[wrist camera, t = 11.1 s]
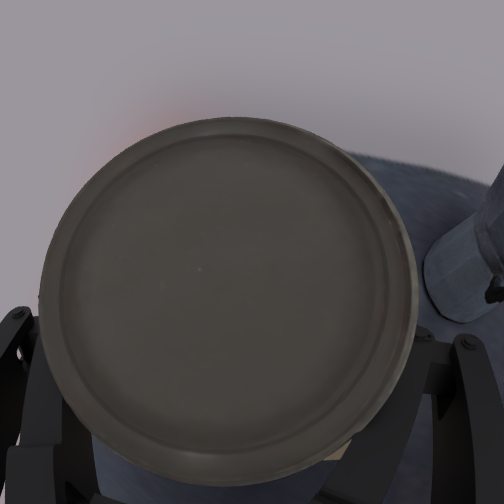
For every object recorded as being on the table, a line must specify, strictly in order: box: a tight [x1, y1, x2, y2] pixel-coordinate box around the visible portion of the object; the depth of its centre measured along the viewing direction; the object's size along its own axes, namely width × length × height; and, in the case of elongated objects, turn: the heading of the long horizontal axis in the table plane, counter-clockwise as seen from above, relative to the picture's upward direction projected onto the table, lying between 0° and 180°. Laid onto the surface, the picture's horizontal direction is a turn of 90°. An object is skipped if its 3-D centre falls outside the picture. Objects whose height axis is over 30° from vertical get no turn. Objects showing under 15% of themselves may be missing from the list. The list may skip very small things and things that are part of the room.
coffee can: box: [38, 117, 419, 487], centre depth 14 cm, size 10×10×14 cm
